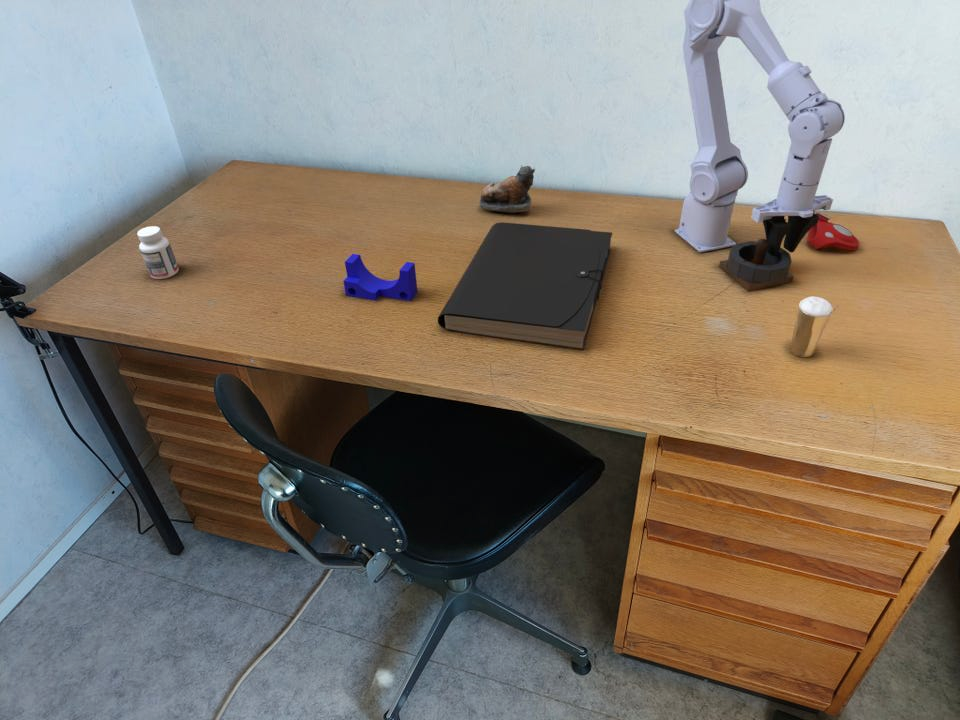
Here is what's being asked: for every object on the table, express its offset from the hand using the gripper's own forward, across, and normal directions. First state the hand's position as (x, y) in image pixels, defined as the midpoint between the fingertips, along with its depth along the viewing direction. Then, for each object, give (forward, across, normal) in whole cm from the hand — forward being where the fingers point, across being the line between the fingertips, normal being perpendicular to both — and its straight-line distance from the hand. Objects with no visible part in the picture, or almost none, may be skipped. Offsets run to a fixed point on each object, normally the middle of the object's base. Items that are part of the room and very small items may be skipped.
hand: (779, 251), depth 117 cm
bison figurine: (+4, -37, +41) cm, 56 cm away
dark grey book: (+4, -43, +10) cm, 45 cm away
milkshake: (+4, -11, -22) cm, 25 cm away
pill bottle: (+4, -107, +39) cm, 114 cm away
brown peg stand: (+4, -4, 0) cm, 6 cm away
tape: (+3, -4, 0) cm, 5 cm away
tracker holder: (+4, +17, +6) cm, 18 cm away
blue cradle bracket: (+4, -69, +17) cm, 71 cm away
